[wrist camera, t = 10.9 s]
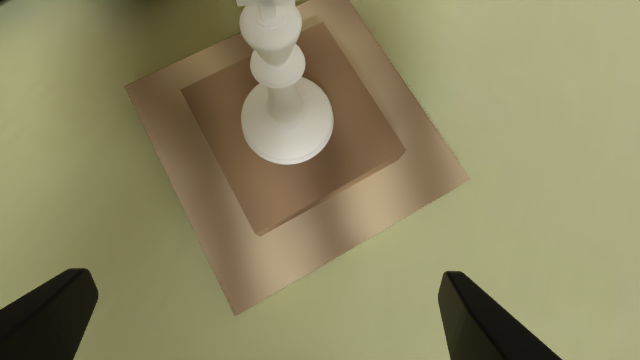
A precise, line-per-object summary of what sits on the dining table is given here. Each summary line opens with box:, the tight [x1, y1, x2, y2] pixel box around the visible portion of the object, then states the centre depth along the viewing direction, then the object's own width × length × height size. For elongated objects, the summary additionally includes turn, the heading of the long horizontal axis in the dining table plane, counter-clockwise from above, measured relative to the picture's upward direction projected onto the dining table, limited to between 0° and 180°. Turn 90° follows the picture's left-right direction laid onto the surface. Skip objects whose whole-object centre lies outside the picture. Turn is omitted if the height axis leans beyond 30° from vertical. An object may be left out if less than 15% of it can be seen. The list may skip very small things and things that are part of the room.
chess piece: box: [236, 0, 334, 165], centre depth 14 cm, size 5×5×10 cm
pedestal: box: [125, 0, 470, 316], centre depth 21 cm, size 15×15×3 cm
